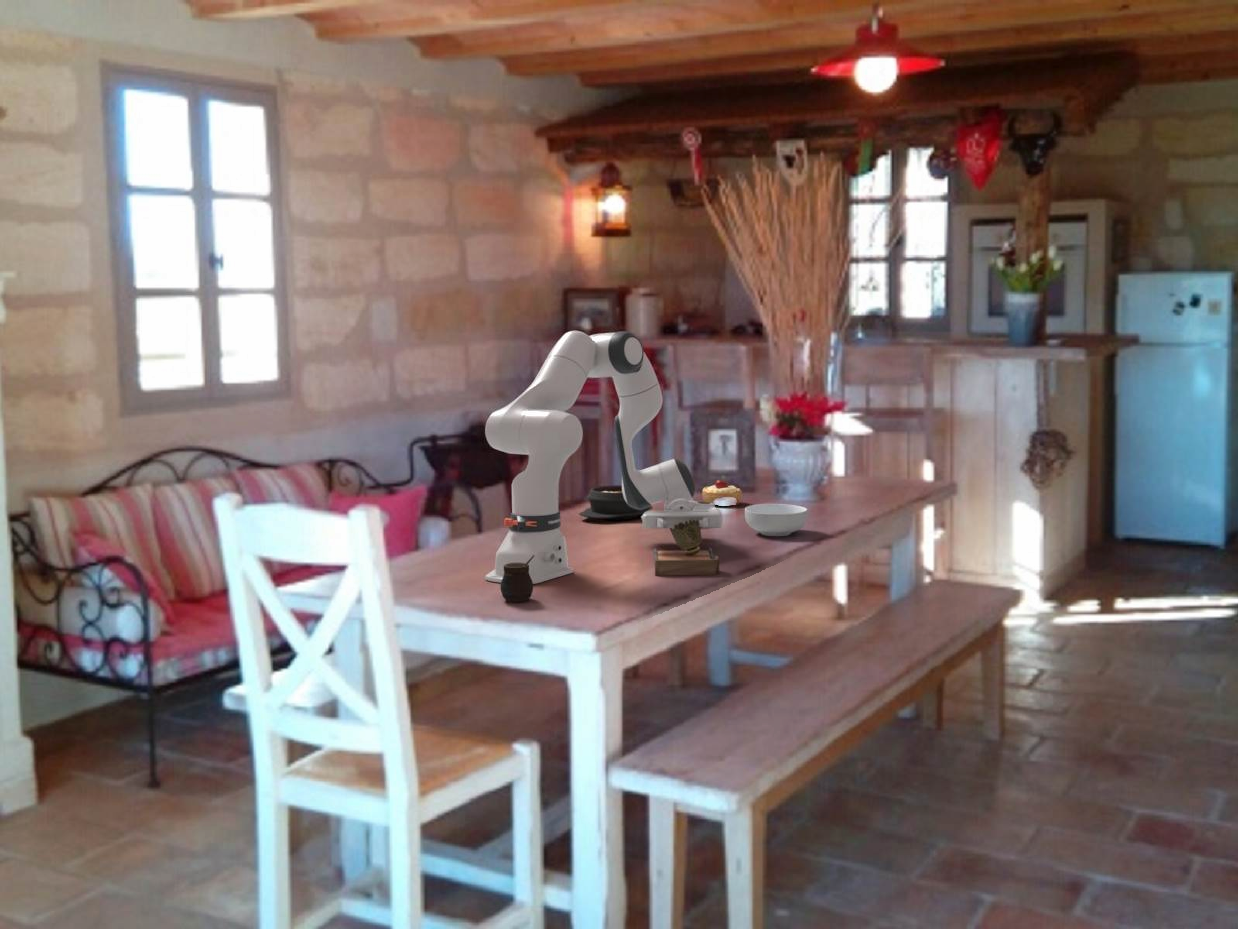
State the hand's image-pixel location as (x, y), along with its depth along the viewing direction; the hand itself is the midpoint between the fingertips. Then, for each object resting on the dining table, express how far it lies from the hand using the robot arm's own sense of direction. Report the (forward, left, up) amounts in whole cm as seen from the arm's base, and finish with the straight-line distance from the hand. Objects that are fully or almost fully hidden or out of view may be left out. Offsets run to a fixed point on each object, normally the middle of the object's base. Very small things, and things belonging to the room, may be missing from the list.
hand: (683, 524), depth 350 cm
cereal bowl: (+38, -12, -9) cm, 41 cm away
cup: (+2, -2, -8) cm, 8 cm away
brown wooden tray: (-4, -2, -8) cm, 10 cm away
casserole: (+49, +40, -9) cm, 64 cm away
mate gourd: (-55, +18, -9) cm, 58 cm away
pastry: (+79, +18, -9) cm, 81 cm away
